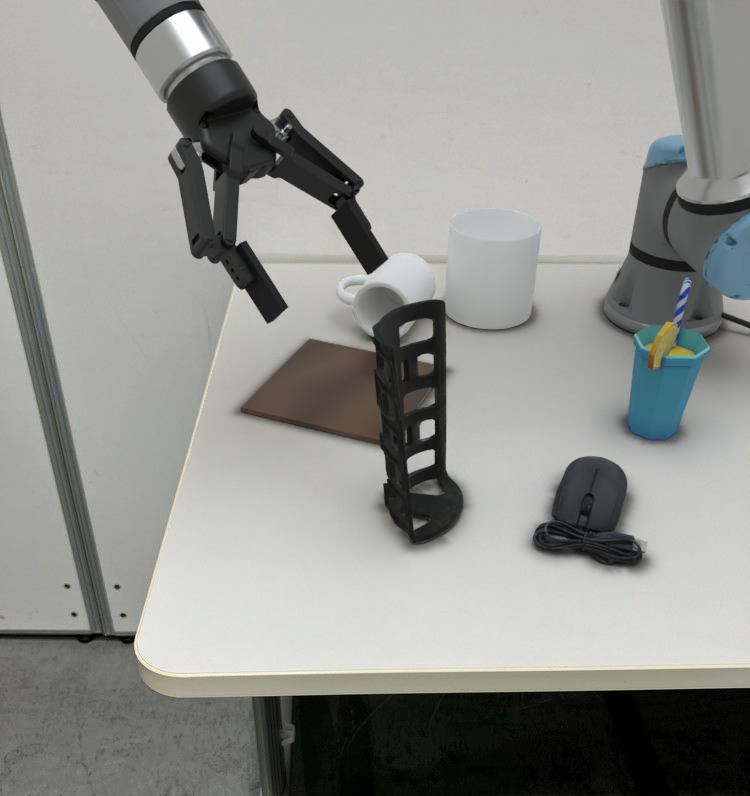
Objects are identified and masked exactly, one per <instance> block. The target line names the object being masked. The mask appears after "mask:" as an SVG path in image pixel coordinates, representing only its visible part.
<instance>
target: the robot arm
mask: <svg viewBox="0 0 750 796" xmlns="http://www.w3.org/2000/svg"><path fill="white" fill-rule="evenodd" d="M94 1H95V3H97V5H98V6H99V8H100V9H101V10H102V12H103V13H104V15H105V16H106V18H107V19H108V21H109V22H110V24H111V25H112V27H113V28H114V30H115V31H116V33H117V35H118V37H120V39H121V41H122V43H123V44H124V45H125V47H126V48H127V50H128V51H129V53H130V54H131V57H132V58H133V59H134V61H135V63H136V64H137V67H139V69H140V70H141V72H142V74H143V75H144V77H145V78H146V80H147V81H148V83H149V85H150V86H151V88H152V89H153V91H154V93H155V94H156V95H157V97H158V99H159V100H160V101H161V102H162V103H163V104H166V111H167V113H168V115H169V117H170V118H171V121H173V122H174V125H175V126H176V127H177V129H178V131H179V132H180V134H181V136H182V137H180V138H179V139H178V141H177V143H175V145H174V146H173V148H172V150H171V151H170V153H169V154H168V155H167V162H168V163H169V165H170V167H171V169H172V170H173V172H174V175H175V177H176V178H177V183H178V188H179V193H180V200H181V205H182V210H183V217H184V222H185V228H186V234H187V239H188V244H189V245H188V246H189V250H190V254H191V256H192V257H193V258H195V260H196V259H197V260H202V259H203V258H204V257H207V260H208V261H209V262H210V263H211V264H214V265H216V264H219V263H221V265H222V267H223V268H224V269H225V271H226V273H227V274H228V275H229V277H230V279H231V280H232V282H233V283H234V285H235V287H236V288H238V290H239V291H243V290H245V291H246V293H247V295H248V296H249V298H250V299H251V301H252V303H253V304H254V306H255V307H256V309H257V310H258V312H259V313H260V315H261V316H262V318H263V320H264V321H265V323H266V325H268V324H271V323H272V322H274V321H275V320H276V319H278V317H280V316H281V315H282V314H283V313H284V312H285V311H286V310H287V309H288V308H289V305H288V304H287V302H286V300H285V299H284V297H283V296H282V294H281V292H280V291H279V290H278V288H277V286H276V285H275V283H274V281H273V280H272V279H271V277H270V275H269V274H268V272H267V270H266V269H265V267H264V266H263V265H262V263H261V261H260V259H259V258H258V256H257V255H256V254H255V252H254V250H253V248H252V247H251V246H250V244H249V242H248V241H247V240H244V241H241V242H239V243H238V244H237V237H238V235H237V234H238V218H239V217H238V216H239V199H240V186H241V185H244V184H247V183H249V181H250V180H253V179H254V180H256V179H257V180H258V179H262V178H264V177H266V176H269V177H270V178H272V179H281V180H283V181H285V182H286V183H287V184H290V185H292V186H293V187H295V188H297V190H298V189H299V190H300V191H301V192H304V193H305V194H307V195H309V196H310V197H312V198H314V199H315V200H317V201H318V202H321V203H322V204H324V205H326V206H328V207H329V208H331V209H332V210H334V211H333V213H332V214H330V218H331V219H332V221H333V223H334V224H335V226H336V227H337V229H338V230H339V231H340V234H341V235H342V237H343V238H344V240H345V241H346V243H347V245H348V246H349V248H350V249H351V251H352V253H353V254H354V256H355V257H356V259H357V260H358V262H359V264H360V265H361V267H362V269H363V270H364V272H365V274H366V275H372V274H373V273H374V272H375V271H376V270H377V269H378V268H379V267H380V266H381V265H382V264H383V263H384V262H386V261H387V260H388V259H389V258H388V257H389V256H388V255H387V254H386V252H385V251H384V248H383V247H382V245H381V244H380V242H379V240H378V239H377V237H376V236H375V234H374V233H373V231H372V229H373V228H372V225H371V222H370V220H369V219H368V218H367V216H366V214H365V213H364V211H363V209H362V208H361V206H360V204H359V203H358V201H357V197H356V196H357V195H359V193H360V191H361V188H363V187H364V185H365V182H364V178H362V177H361V176H360V175H359V174H358V173H357V172H355V170H353V169H352V168H351V167H350V166H349V165H348V164H346V163H345V162H344V161H343V160H342V159H341V158H339V157H338V155H336V154H335V153H334V152H333V151H331V150H330V149H329V148H328V147H327V146H325V144H324V143H322V142H321V141H320V140H319V139H318V138H316V137H315V136H314V135H313V134H312V133H311V132H310V131H309V130H307V128H305V127H304V126H303V124H302V123H301V122H300V120H299V119H298V118H297V116H296V114H294V111H292V110H291V109H290V108H286V107H285V108H283V109H282V111H281V112H280V113H279V114H278V116H276V117H275V118H272V119H268V118H267V117H266V116H265V115H264V114H263V113H262V112H261V110H260V107H259V102H258V100H259V99H258V93H257V91H256V89H255V88H254V86H253V84H252V83H251V80H250V79H249V78H248V77H247V75H246V73H245V72H244V70H243V68H242V67H241V65H240V64H239V62H238V61H236V60H235V59H233V53H232V51H231V49H230V47H229V46H228V44H227V42H226V41H225V39H224V38H223V36H222V35H221V33H220V32H219V30H218V29H217V27H216V25H215V24H214V22H213V21H212V18H211V17H210V16H209V15H208V13H207V11H206V10H205V8H204V7H203V5H202V4H201V1H200V0H94ZM659 2H660V8H661V14H662V22H663V26H664V34H665V39H666V46H667V50H668V51H667V52H668V57H669V62H670V69H671V76H672V81H673V88H674V94H675V99H676V106H677V111H678V117H679V124H680V125H679V126H680V131H681V134H674V135H672V134H671V135H665V136H662V137H659V138H657V139H655V140H654V141H653V142H652V143H651V144H650V145H649V148H648V150H647V155H646V157H645V161H644V164H643V166H642V176H641V182H640V187H639V192H638V199H637V203H636V209H635V215H634V221H633V226H632V232H631V237H630V241H629V248H628V252H627V255H626V257H625V258H624V261H623V262H622V264H621V265H619V267H618V269H617V270H616V273H615V276H614V278H613V281H612V282H611V284H610V286H609V288H608V290H607V292H606V294H605V298H604V299H605V300H604V305H603V310H604V313H605V316H606V317H607V318H608V320H610V321H611V323H613V324H614V325H616V326H618V327H619V328H621V329H623V330H626V331H627V332H629V333H633V334H636V333H638V332H639V331H641V330H643V329H644V328H646V327H648V326H649V325H665V323H666V322H673V320H674V316H675V312H676V308H677V303H678V299H679V295H680V291H681V286H682V284H683V282H684V280H685V278H688V277H689V278H691V279H692V283H691V287H690V290H689V293H688V297H687V301H686V305H685V309H684V313H683V317H682V321H681V325H680V327H683V328H686V329H688V330H691V331H694V332H697V333H699V334H701V335H702V336H703V338H706V337H708V336H710V335H712V334H714V333H715V332H716V331H718V330H719V328H720V327H721V325H722V324H721V323H722V319H723V320H726V321H728V322H731V323H734V324H736V325H739V326H742V327H745V328H747V329H749V330H750V321H748V320H745V319H743V318H740V317H737V316H735V315H731V314H729V313H727V312H724V297H723V296H725V297H726V298H729V299H732V300H737V301H750V0H659ZM277 155H279V156H278V157H277ZM203 164H205V165H206V166H208V167H209V168H211V169H213V179H212V191H213V192H214V197H213V209H211V204H210V198H209V192H208V187H207V181H206V177H205V171H204V167H203ZM346 182H347V183H346ZM336 194H337V195H336ZM212 210H213V211H212Z"/></svg>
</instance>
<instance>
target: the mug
mask: <svg viewBox="0 0 750 796" xmlns="http://www.w3.org/2000/svg"><path fill="white" fill-rule="evenodd" d="M387 257H388V258H389V259H388V260H387V261H386V262H384V263H383V264H382V265H381V266H380V267H379V268H377V269H376V270H375V271H374V272H373V273H371V274H369V275H367V274H354V275H350V276H349V275H348V276H346V277H344V278H342V279H340V281H339V282H338V283H337V284H336V287H335V295H336V298H337V299H338V300H339V301H340V302H342V303H343V304H346V305H348V306H351V307H352V312H353V315H354V318H355V320H356V323H357V324H358V326H359V327H360V328H361V329H362V330H363V332H364V333H366V334H367V335H369V336H370V337H371V338H372V337H374V333H373V329H372V327H373V326H374V325H375V324H377V323H378V322H379V321H380V319H381V318H382V317H383V316H385V315H386V314H388V313H389V312H390V311H392V310H393V309H396V308H398V307H401V306H404V305H407V304H411V303H415V302H420V301H425V300H432V299H433V298H434V296H435V293H436V290H437V281H436V276H435V273H434V271H433V268H432V267H431V266H430V265H429V264H428V262H427V261H426V260H425V259H424V258H422V257H421V256H419V255H417V254H414V253H411V252H397V253H393V254H391V255H390V256H387ZM352 286H353V287H354V286H360V287H359V289H357V291H356V293H351V292H348V291H346V289H347V288H349V287H352ZM416 321H417V320H415V321H411V322H407V323H405V324H403V325H402V326H401V327H399V334H400V338H402V337H403V336H405V335H406V334H407V333H408V332H409V331H410V329H411V328H412V326H413V325H414V324H415V323H416Z"/></svg>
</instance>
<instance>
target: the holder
mask: <svg viewBox="0 0 750 796" xmlns="http://www.w3.org/2000/svg"><path fill="white" fill-rule="evenodd" d="M423 319H424V320H425V319H427V320H431V322H432V336H431V337H429V338H427V339H423V340H418V341H414V342H411V343H407V344H404V345H401V337H400V334H399V327H401V326H402V325H403V324H405V323H407V322H411V321H415V320H416V321H418V320H423ZM416 321H415V322H416ZM372 329H373V333H374V337H372V336H371V337H370V339H371V342H372V344H373V345H374V350H375V351H374V352H376V363H377V368H376V369H374V378H375V389H376V400H377V405H378V406H379V408H380V410H381V419H382V429H383V432H379V438H380V444H379V447H380V449H381V451H382V452H383V455H384V463H385V466H384V467H385V474H386V476H387V478H386V482H383V483H382V487H383V501H384V507H386V508H387V510H388V512H389V515H390V518H391V520H392V522H393V523H394V524H395V525H396V526H397V527H398V528H399V529H400V530H401V531H403V532H404V533H405V534H406V536H407V537H408V538H409V540H410V542H411V543H412V544H413V545H415V544H416V545H417V544H424V543H426V542H428V541H431V540H433V539H434V538H436V537H438V536H440V535H441V534H443V533H444V532H446V531H447V530H449V529H450V528H451V527H452V526H453V525H454V524H455V523H456V522H457V521H458V520H459V518H460V516H461V514H462V512H463V509H464V495H463V492H462V489H461V488H460V486H459V485H458V484H457V482H456V481H455V480H453V479H452V478H451V477H450V475H449V474H448V471H447V424H448V423H447V421H448V420H447V419H448V418H447V417H448V416H447V314H446V308H445V302H444V300H443V299H436V298H434V299H433V298H432V300H425V301H420V302H415V303H411V304H407V305H404V306H401V307H398V308H396V309H393V310H392V311H390V312H389V313H388V314H386V315H385V316H383V317H382V318H381V319H380V321H379V322H378V323H377V324H375V325H374V326H373V327H372ZM423 355H432V356H433V357H432V358H433V359H432V360H433V364H434V369H433V371H432V372H431V373H429V374H425V375H420V376H419V375H418V361H419V360H418V358H419V357H420V356H423ZM402 362H403V365H404V379H403V380H402V373H401V364H402ZM429 387H431V388H432V389H433V391H434V392H433V393H434V403H430V405H427V406H424V407H419V408H418V409H416V410H413V411H410V412H408V413H405V414H404V397H405V396H406V394H407V393H410V392H413V391H415V390H420V389H424V388H429ZM430 420H433V421H434V433H433V434H432V435H430V436H428V437H425V438H421V425H422V423H423V422H426V421H430ZM430 450H431V451H432V450H433V451H434V459H433V460H434V463H432V464H431V465H428V466H426V467H422V468H419V469H416V470H413V471H411V472H409V470H408V461H409V459H410V458H412V457H413V456H415V455H417V454H420V453H424V452H427V451H430ZM432 480H436V481H437V483H438V485H439V487H440V488H441V490H442V492H443V493H441V494H428V493H419V492H411V489H413V488H415V487H416V486H418V485H420V484H422V483H425V482H428V481H432ZM413 516H414V517H421V518H427V519H428V520H429V521H428V522H426V523H424V524H422V525H421V526H419V527H417V528H415V527H414V519H413ZM414 528H415V529H414Z"/></svg>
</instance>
